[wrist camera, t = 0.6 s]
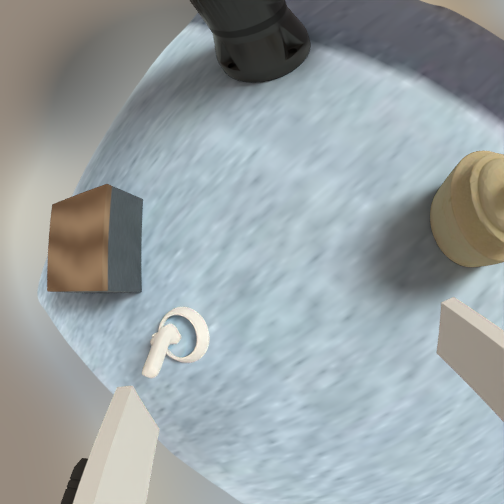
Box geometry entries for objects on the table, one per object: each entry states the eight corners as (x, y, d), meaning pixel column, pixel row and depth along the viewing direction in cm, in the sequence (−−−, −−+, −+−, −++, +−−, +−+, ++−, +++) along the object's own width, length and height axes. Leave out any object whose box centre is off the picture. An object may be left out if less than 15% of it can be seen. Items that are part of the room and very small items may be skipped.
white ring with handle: (179, 414, 31) (127, 389, 29) (193, 350, 42) (152, 326, 40) (211, 386, 29) (151, 356, 27) (220, 318, 39) (175, 292, 38)
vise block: (85, 214, 47) (52, 204, 40) (142, 199, 43) (107, 183, 35) (83, 293, 45) (47, 291, 38) (141, 292, 41) (102, 290, 33)
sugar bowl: (439, 140, 30) (472, 67, 16) (508, 170, 26) (563, 116, 12) (419, 251, 30) (466, 223, 16) (494, 280, 26) (567, 271, 12)
